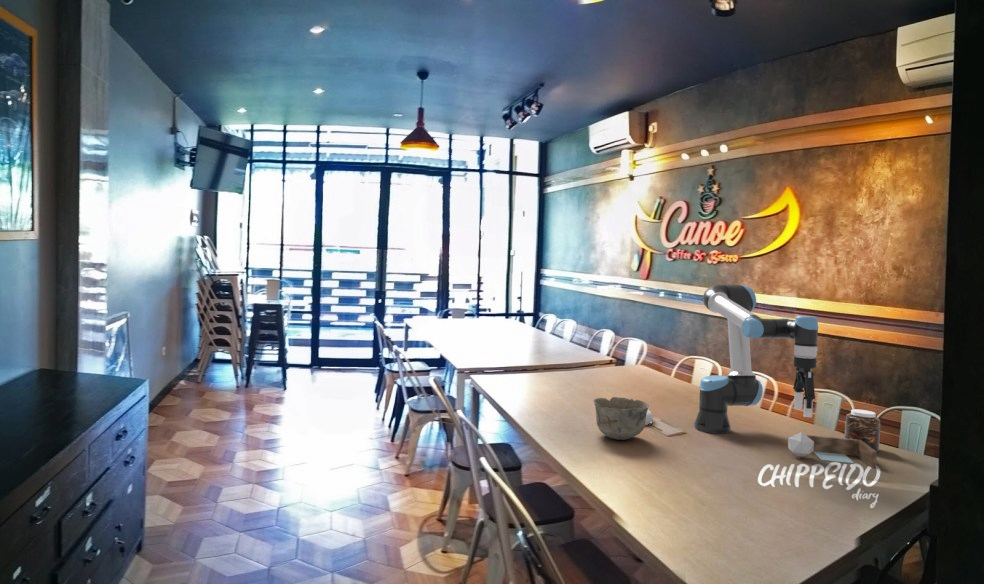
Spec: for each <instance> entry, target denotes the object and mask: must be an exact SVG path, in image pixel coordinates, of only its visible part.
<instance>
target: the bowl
mask: <svg viewBox="0 0 984 584" xmlns="http://www.w3.org/2000/svg"><path fill="white" fill-rule="evenodd" d="M593 403H594V406H595V407H594V408H595V413H596V414H595V421H596V425H597V428H598V430H599V431H600V432H601V433H602V434H603V435H605V436H606V437H608V438H610V439H612V440H616V441H626V440H629V439H632V438H634V437H636V436H638V435H640V434H641V433H642V432H643V431H644V429H645V427H646V425H645V420H646V414H647V410H649V404H648V403H647V402H646V401H643V400H639V399H635V400H634V399H632V398H630V399H629V398H626V397H620V396H619V397H618V396H617V397H616V396H613V397H611V398H609V399H607V398H606V397H599V398H598V397H597V398H595V399H593Z"/></svg>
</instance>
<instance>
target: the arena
mask: <svg viewBox="0 0 984 584" xmlns="http://www.w3.org/2000/svg"><path fill="white" fill-rule="evenodd" d="M805 435H806V436H808V437H809V438H810V439H811V440H812V441H814V450H813V451H815V452H826V453H836V454H845V455H846V456H853V457H858V458H859V459H860V460H861V461H862V462H863V463H865V464H866V465H867V466H869V467H870V468H872V469H877V456H878V455H877V454H878V452H877V451H875V450H874V449H872V448H871V447H870V446H868V445H867V444H866V443H864V442H863V441H862V440H856V439H845V437H844V438H843V437H833V436H821V435H810V434H805Z"/></svg>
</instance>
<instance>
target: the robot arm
mask: <svg viewBox="0 0 984 584" xmlns="http://www.w3.org/2000/svg"><path fill="white" fill-rule="evenodd" d="M755 293H756V292H755V291H754V290H753V289H752V288H751V287H750V286H748V285H742V284H713V285H711V286H709V287H708V288H706V290H705V291H704V293H703V295H702V302H703V305H704V306H705V308H706V309H708V310H709V311H710V312H712V313H714V314H719V315H721V316H722V317H723V318H726V319H727V332H728V334H727V335H728V347H729V348H728V349H729V361H730V363H729V364H730V371H729V373H728V374H727V376H725V375H722V374H721V375H715V374H714V375H707V376H704V377H702V378H701V380H700V384H699V404H698V405H699V407H698V413H697V414H696V417H695V420H694V426H693V427H695V428H694V429H696V430H697V431H700V432H704V433H709V434H720V435H721V434H722V435H724V434H725V435H726V434H729V433H731V431H732V426H731V422H730V418H729V414H728V406H729V407H733V406H734V407H736V406H737V407H740V406H741V407H742V406H744V407H749V406H756V405H757V404H758V403H760V401H761V399H762V397H763V393H764V389H763V384H762V382H761V381H760V380H758V378H757V376H756V374H755V373H754V372H753V370H752V357H751V344H750V343H751V342H750V338H751V339H788V340H789V339H790V340H794V345H793V347H794V348H793V355H794V357H793V366H794V367H795V368H796V369H795V370H796V371H795V377H794V381H793V387H792V388H793V390H794V399H793V400H794V404H793V409H794V410H802V411H803V415H802V416H803V417H804V418H813V410H814V409H813V407H814V406H813V405H814V400H815V399H816V393H815V383H814V381H815V380H814V372H813V371H812V372H811V369H816V368H817V360H818V359H817V358H816V357H817V356H818V355H817V353H818V352H819V349H818V335H819V319H818V317H816V316H813V315H796V316H795V319H790V318H762V317H761V316H758V315H756V314H755V313H754V312H752V311H754V309H755V308H756V305H757V296H756V294H755ZM803 395H804V396H803Z"/></svg>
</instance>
